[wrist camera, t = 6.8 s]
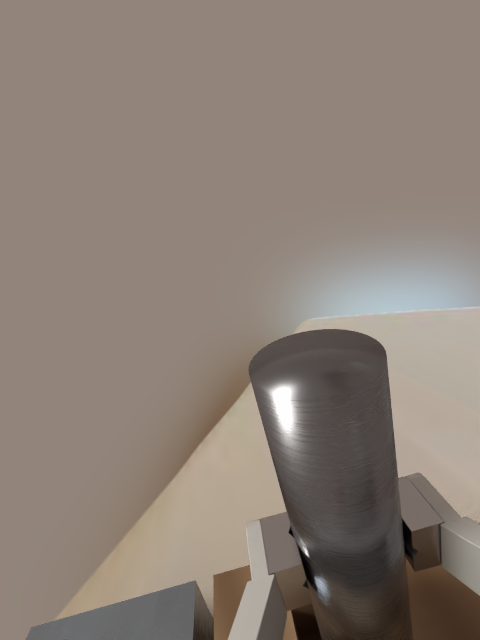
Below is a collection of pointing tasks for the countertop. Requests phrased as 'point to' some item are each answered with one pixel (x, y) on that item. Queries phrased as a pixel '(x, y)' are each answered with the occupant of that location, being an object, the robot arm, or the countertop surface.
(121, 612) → the socket block
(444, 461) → the countertop surface
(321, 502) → the steel axle
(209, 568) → the countertop surface
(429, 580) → the wooden square hole block
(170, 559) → the countertop surface
